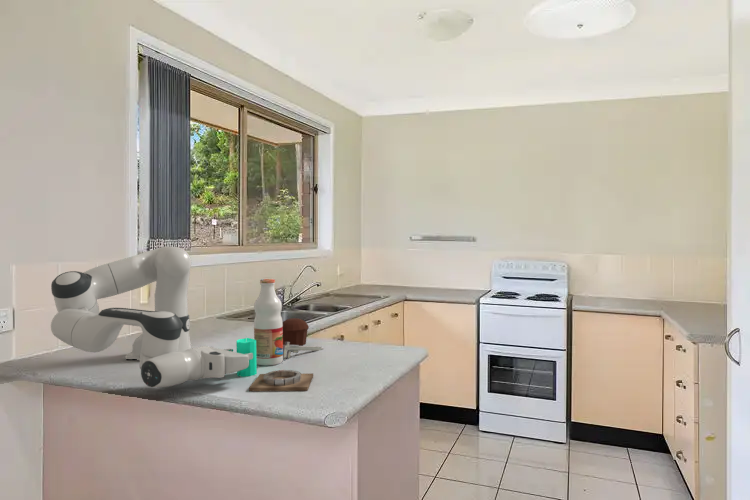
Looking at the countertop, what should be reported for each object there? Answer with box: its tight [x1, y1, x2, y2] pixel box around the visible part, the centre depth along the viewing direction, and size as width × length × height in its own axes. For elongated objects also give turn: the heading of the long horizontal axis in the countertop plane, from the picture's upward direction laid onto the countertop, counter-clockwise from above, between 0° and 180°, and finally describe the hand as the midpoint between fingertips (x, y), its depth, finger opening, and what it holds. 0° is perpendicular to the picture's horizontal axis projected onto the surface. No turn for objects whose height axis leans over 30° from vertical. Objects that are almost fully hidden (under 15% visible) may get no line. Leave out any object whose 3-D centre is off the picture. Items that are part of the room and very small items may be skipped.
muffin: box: [282, 317, 310, 346], centre depth 204 cm, size 12×11×10 cm
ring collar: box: [264, 369, 302, 386], centre depth 150 cm, size 10×10×2 cm
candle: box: [235, 336, 258, 378], centre depth 161 cm, size 6×6×12 cm
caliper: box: [283, 342, 324, 361], centre depth 187 cm, size 20×1×6 cm, turn 144°
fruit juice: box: [253, 278, 284, 367], centre depth 175 cm, size 9×9×28 cm
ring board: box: [248, 373, 314, 392], centre depth 150 cm, size 16×14×1 cm
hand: (241, 353), depth 159 cm, fingers open, 8 cm apart
